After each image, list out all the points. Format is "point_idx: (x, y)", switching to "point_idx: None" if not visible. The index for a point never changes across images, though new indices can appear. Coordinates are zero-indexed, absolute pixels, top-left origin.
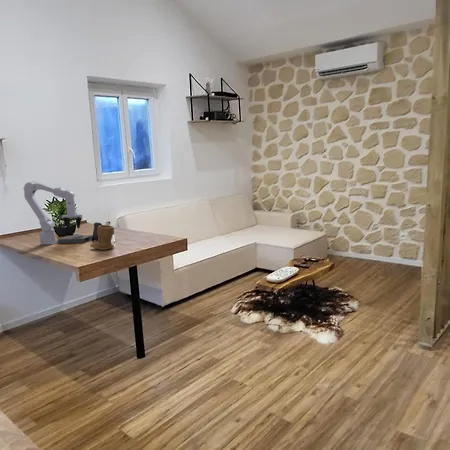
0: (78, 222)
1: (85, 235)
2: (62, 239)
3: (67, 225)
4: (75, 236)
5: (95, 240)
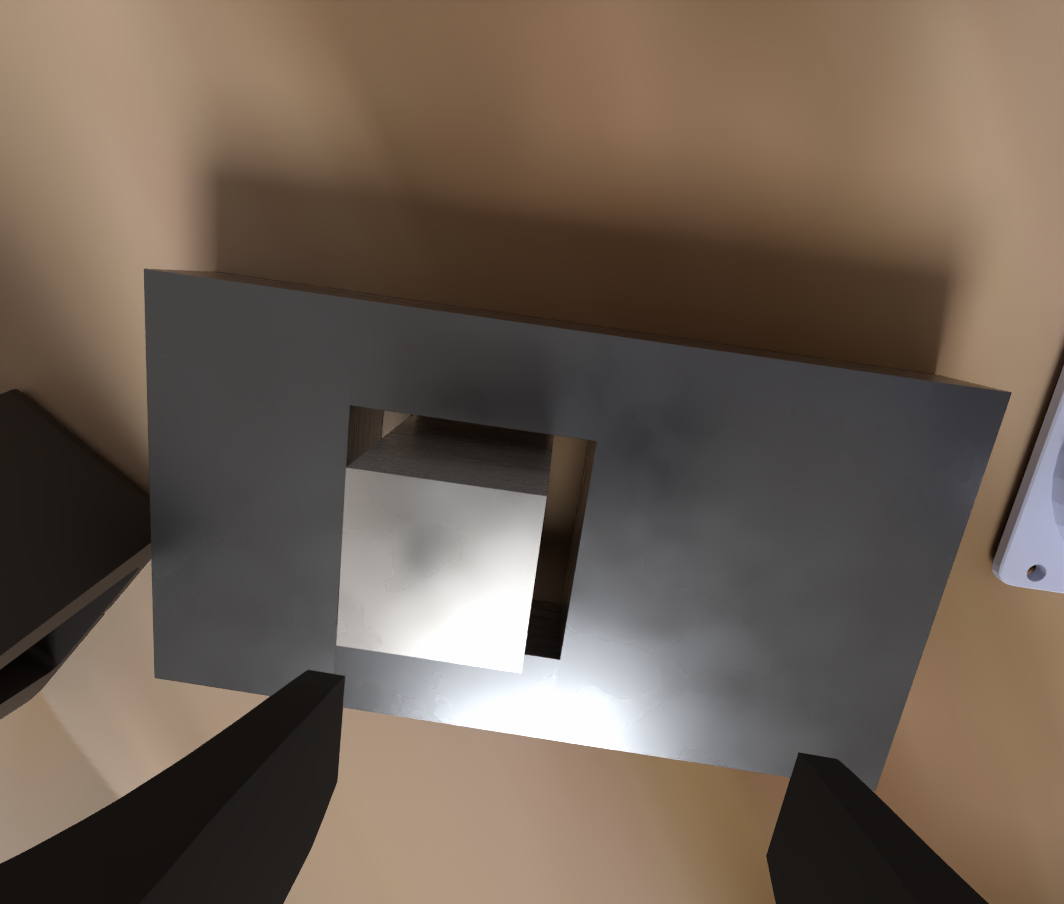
0: (7, 890)
1: None
2: (850, 369)
3: (880, 874)
4: (475, 459)
5: (20, 400)
